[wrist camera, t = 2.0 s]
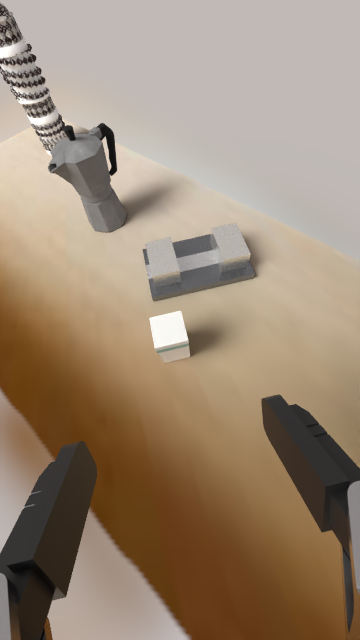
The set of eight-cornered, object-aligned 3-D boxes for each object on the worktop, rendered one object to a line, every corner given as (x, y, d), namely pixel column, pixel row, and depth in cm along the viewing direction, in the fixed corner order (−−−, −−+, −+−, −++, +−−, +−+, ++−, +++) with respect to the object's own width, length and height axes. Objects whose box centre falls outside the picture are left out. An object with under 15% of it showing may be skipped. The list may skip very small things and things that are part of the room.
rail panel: (233, 234, 46) (237, 214, 41) (253, 278, 41) (260, 261, 36) (144, 254, 45) (138, 236, 41) (153, 301, 40) (148, 287, 36)
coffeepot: (104, 244, 47) (55, 155, 31) (75, 229, 50) (17, 139, 34) (146, 203, 52) (122, 107, 35) (118, 191, 55) (84, 96, 38)
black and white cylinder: (79, 149, 64) (13, 3, 41) (49, 160, 62) (-35, 16, 40) (70, 136, 67) (6, -6, 44) (43, 146, 66) (-38, 6, 43)
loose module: (184, 332, 37) (180, 310, 29) (190, 357, 36) (188, 340, 27) (159, 338, 37) (149, 317, 29) (164, 363, 35) (154, 348, 27)
